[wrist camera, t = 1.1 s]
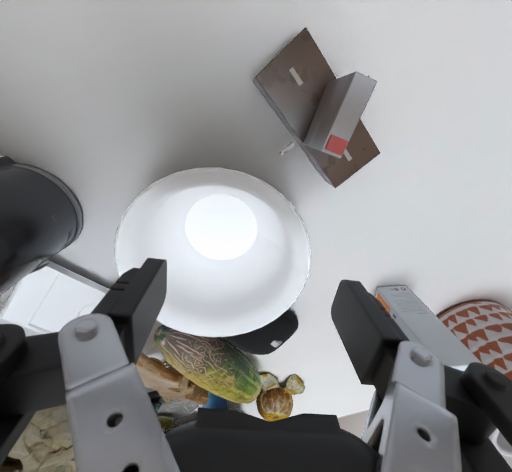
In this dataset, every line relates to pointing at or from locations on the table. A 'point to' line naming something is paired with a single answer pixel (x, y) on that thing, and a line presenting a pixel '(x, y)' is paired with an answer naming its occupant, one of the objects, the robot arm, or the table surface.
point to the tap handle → (339, 113)
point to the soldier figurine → (166, 422)
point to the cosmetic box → (424, 326)
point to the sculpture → (170, 405)
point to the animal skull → (43, 444)
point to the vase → (485, 342)
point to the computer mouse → (267, 335)
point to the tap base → (310, 106)
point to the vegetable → (210, 364)
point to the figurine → (169, 381)
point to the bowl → (217, 249)
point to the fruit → (277, 397)
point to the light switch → (58, 303)
